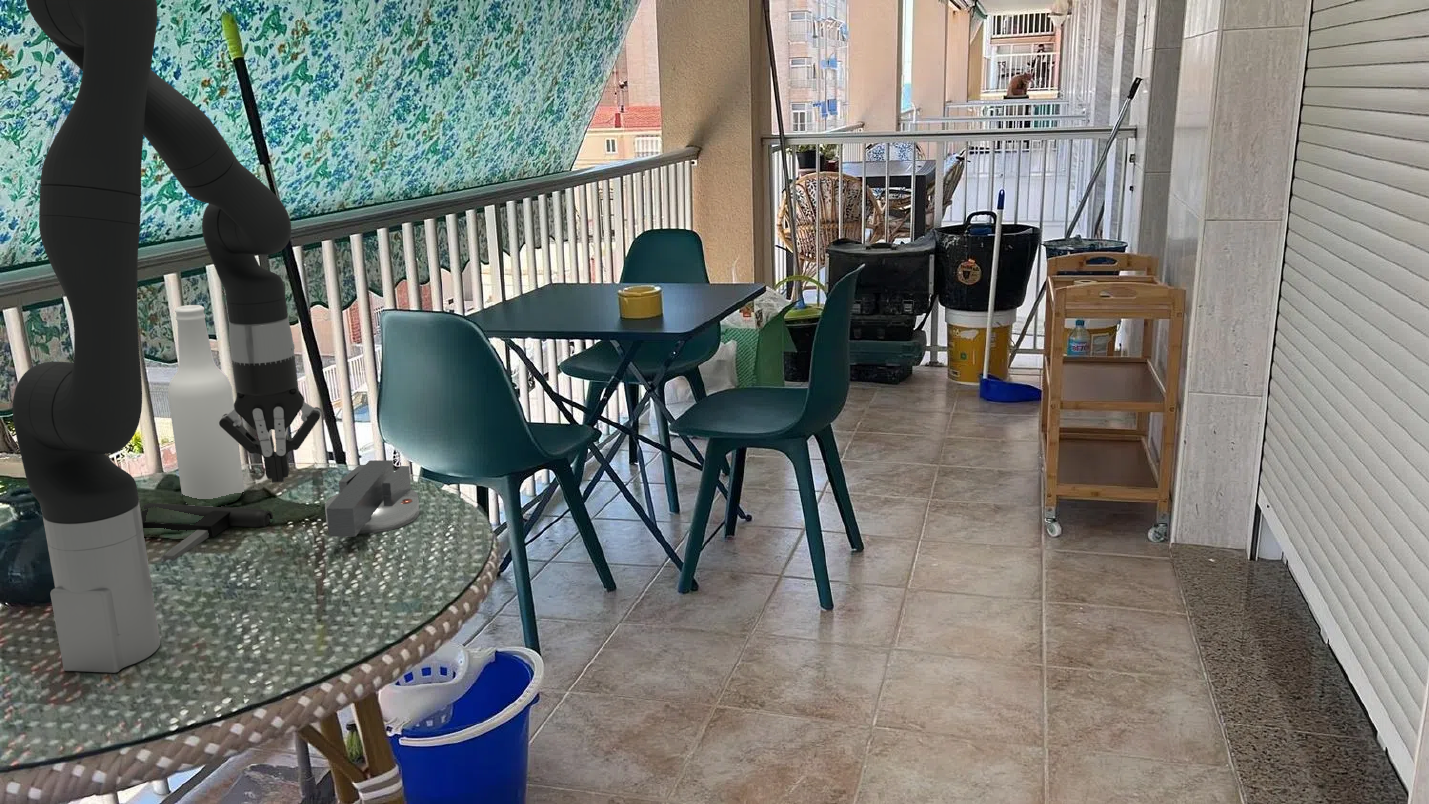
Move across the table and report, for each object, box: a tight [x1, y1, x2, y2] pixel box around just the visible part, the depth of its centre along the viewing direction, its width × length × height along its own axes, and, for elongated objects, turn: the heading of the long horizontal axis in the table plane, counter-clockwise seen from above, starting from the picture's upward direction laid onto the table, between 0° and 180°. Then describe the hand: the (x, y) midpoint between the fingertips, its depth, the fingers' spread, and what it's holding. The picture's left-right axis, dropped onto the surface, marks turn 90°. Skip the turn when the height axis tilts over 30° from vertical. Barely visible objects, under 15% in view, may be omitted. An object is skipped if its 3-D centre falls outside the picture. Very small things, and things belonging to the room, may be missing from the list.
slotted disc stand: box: [324, 464, 420, 535], centre depth 164 cm, size 13×13×6 cm
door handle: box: [141, 502, 274, 563], centre depth 158 cm, size 3×20×16 cm
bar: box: [327, 459, 395, 538], centre depth 160 cm, size 20×4×4 cm, turn 1°
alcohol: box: [167, 304, 245, 499], centre depth 170 cm, size 9×9×30 cm
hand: (279, 480), depth 150 cm, fingers closed
